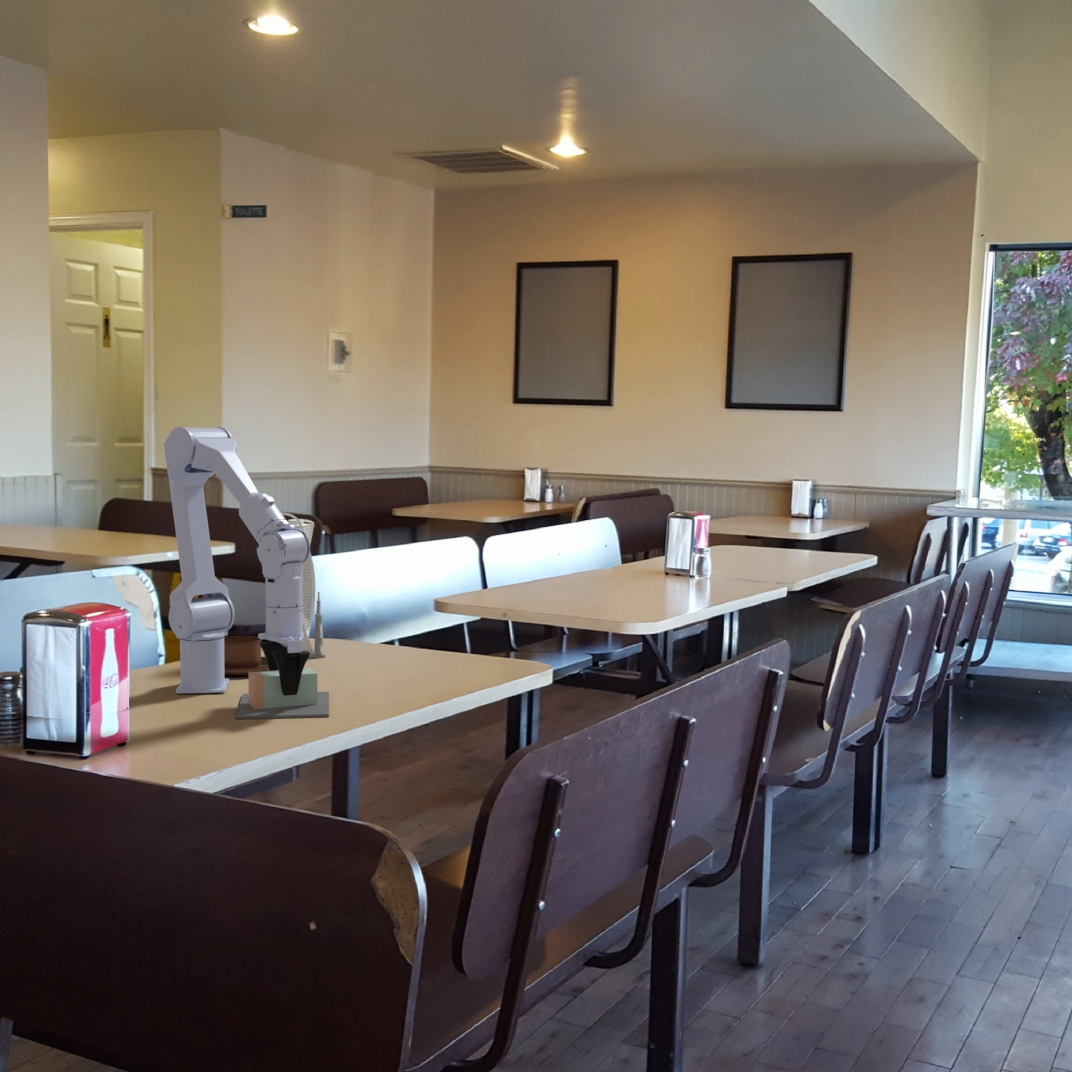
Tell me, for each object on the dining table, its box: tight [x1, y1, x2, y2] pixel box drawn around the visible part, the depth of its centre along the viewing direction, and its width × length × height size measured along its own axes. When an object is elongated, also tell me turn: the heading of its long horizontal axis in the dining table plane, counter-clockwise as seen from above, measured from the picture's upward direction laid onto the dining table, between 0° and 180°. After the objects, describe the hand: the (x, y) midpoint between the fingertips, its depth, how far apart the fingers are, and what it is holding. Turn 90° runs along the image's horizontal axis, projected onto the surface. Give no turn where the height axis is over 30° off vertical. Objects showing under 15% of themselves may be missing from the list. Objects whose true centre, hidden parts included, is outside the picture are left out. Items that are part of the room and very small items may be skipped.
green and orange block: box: [248, 667, 318, 709], centre depth 195 cm, size 10×4×5 cm, turn 115°
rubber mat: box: [235, 691, 330, 720], centre depth 195 cm, size 16×14×1 cm
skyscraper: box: [280, 511, 326, 660], centre depth 236 cm, size 8×8×28 cm
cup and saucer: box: [224, 635, 269, 677], centre depth 221 cm, size 12×12×6 cm
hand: (284, 689), depth 195 cm, fingers open, 7 cm apart
